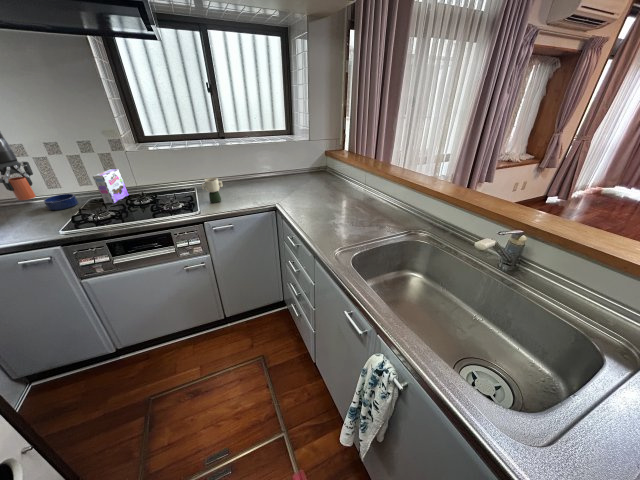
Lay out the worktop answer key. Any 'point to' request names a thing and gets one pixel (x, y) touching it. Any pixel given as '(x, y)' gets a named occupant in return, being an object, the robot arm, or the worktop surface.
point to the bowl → (60, 202)
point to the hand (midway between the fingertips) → (21, 188)
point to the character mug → (213, 188)
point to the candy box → (111, 185)
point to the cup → (21, 188)
